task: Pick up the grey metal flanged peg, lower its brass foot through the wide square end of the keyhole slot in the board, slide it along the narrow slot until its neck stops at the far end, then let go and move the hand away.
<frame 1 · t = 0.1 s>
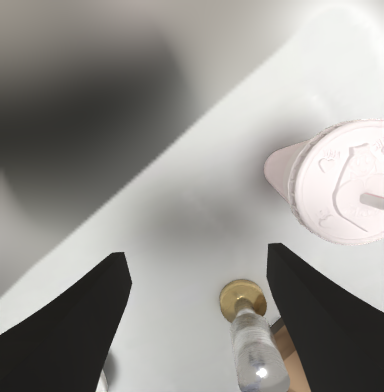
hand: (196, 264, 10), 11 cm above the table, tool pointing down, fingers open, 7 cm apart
peg: (241, 298, 23), on the table
smoothie: (282, 168, 20), on the table
keyhole board: (346, 370, 24), on the table
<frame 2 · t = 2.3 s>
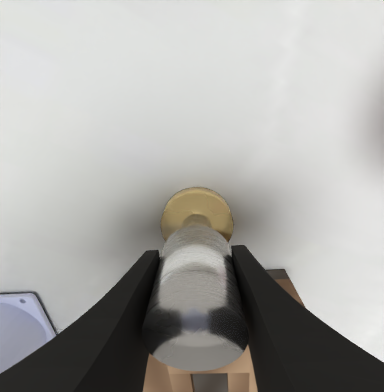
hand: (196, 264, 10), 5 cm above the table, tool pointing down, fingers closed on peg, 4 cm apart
peg: (196, 218, 15), on the table, touching gripper
keyhole board: (210, 358, 21), on the table
when the fingers open (6 cm above the table, at t = 8.6 s): peg stays where it is, resting on keyhole board.
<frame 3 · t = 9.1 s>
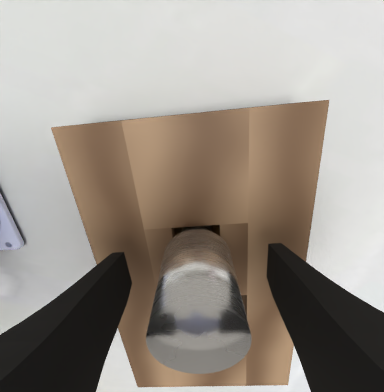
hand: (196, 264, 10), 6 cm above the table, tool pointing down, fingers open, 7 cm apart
peg: (196, 221, 15), point 1 cm above the table, touching keyhole board
keyhole board: (201, 254, 17), on the table
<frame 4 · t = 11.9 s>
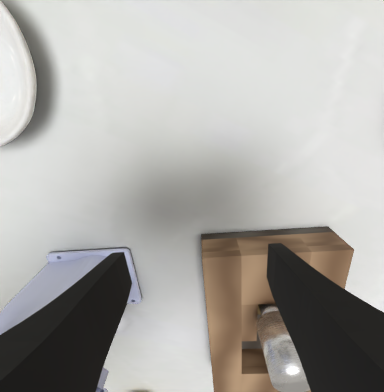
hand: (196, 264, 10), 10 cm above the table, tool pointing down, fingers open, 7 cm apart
peg: (263, 290, 23), point 1 cm above the table, touching keyhole board
keyhole board: (260, 306, 25), on the table
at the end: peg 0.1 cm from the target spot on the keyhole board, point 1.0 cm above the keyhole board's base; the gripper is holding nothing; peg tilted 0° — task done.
